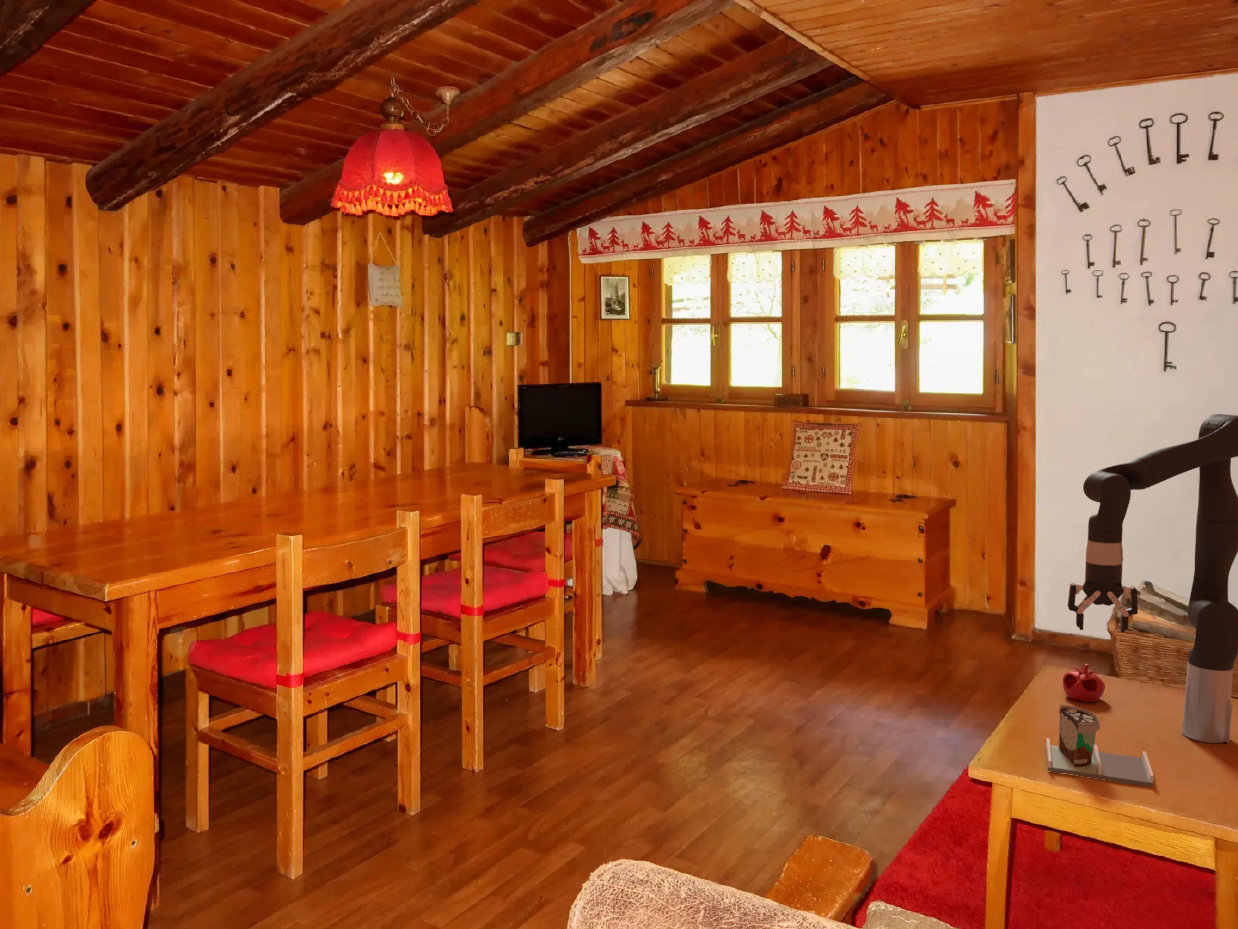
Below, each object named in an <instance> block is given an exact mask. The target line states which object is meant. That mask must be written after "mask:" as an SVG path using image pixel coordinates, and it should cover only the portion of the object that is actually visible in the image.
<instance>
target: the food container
mask: <svg viewBox="0 0 1238 929" xmlns="http://www.w3.org/2000/svg"><path fill="white" fill-rule="evenodd" d="M1058 714H1059V726H1058V728H1059V731H1058V732H1059V734H1058V746H1059V751H1060V752H1061V753H1062V754H1063V755H1064V756H1065V757H1066V759H1067V760H1068V761H1069V762H1070V763H1071V764H1072V765H1073V766H1074V767H1083V766H1087V765H1090V763H1091V760H1092V754H1093V749H1094V745H1095V740H1096V739H1095V738H1096V733H1097V732H1098V731H1099V730H1100V729H1101V726H1100V720H1099V718H1098V716H1097V715H1096V714H1095V713H1094V712H1092V711H1090V710H1088V709H1085V708H1082V707H1079V706H1073V705H1067V704H1060V705H1059V709H1058Z"/></svg>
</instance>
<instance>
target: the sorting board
mask: <svg viewBox="0 0 1238 929" xmlns="http://www.w3.org/2000/svg"><path fill="white" fill-rule="evenodd" d="M1045 743H1046V744H1045V755H1046V754H1047V756H1046V765H1047V766H1048V768H1047V772H1048V771H1051V772H1056V773H1055V774H1058V773H1067V774H1073V775H1078V776H1084V777H1083V778H1085V777H1090V778H1089V779H1091V778H1098V779H1105V780H1111V781H1110V782H1112V781H1116V782H1115V783H1118V782H1120V783H1119V784H1127V785H1133V786H1138V785H1140V787H1147V788H1154V779H1155V778H1154V776H1155V775H1154V773H1153V770H1152V766H1151V764H1150V760H1149V758H1148V755H1147V752H1146V751H1145V750H1143V751H1142V754H1141V756H1140V757H1139V756H1132V755H1125V754H1117V753H1110V752H1104V751H1103V752H1102V751H1099V748H1098V745H1097V744H1094V747H1093V754H1092V760H1091V763H1090V765H1087V766H1083V767H1074V766H1073V765H1072V764H1071V763H1070V762H1069V761H1068V760H1067V759H1066V757H1065V756H1064V755H1063V754H1062V753H1061V752H1060V751H1059V745H1053V744H1051V740H1050V737H1047V738H1046V742H1045ZM1051 772H1050V773H1051ZM1078 776H1077V777H1078ZM1098 779H1097V780H1098ZM1105 780H1104V781H1105Z"/></svg>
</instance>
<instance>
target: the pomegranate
mask: <svg viewBox="0 0 1238 929" xmlns="http://www.w3.org/2000/svg"><path fill="white" fill-rule="evenodd" d="M1089 667H1090V664H1089V663H1085V664H1084V666H1083V665H1081V666H1080V668H1081V669H1079V668H1078V667H1071V668H1070V670H1069V671H1067V672H1065V674H1064V675H1063V678H1062V686H1063V690H1064V693H1065V695H1066V696H1067V697H1068V698H1069V699H1071V700H1075V701H1080V702H1083V703H1097V702H1099V700H1100V698H1101V697H1102V696H1103V694H1104V693H1105V690H1106V684H1105V683H1104V682H1105V681H1103V680H1102V678H1100V677H1099V676H1098V675H1099V674H1100V673H1099V672H1097V670H1098V669H1095V668H1092V669H1089ZM1071 669H1074V670H1071ZM1097 674H1098V675H1097Z"/></svg>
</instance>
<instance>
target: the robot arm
mask: <svg viewBox="0 0 1238 929" xmlns="http://www.w3.org/2000/svg"><path fill="white" fill-rule="evenodd" d="M1197 438H1198V439H1194V440H1191V441H1187V442H1184V443H1179V444H1176V445H1171V446H1167V447H1163V448H1159V449H1155V450H1154V451H1150V452H1148V453H1146V454H1145V453H1144V454H1142V455H1141V456H1139V457H1136V458H1134V459H1132V460H1130V461H1128V462H1123V463H1118V464H1115V465H1111V466H1110V465H1109V466H1108V467H1103V468H1101V469H1100V468H1099V469H1097V470H1095V471H1093V472H1092V473H1091V474H1089V475H1088V476H1087V477H1086V478H1085V480H1084V482H1083V485H1082V486H1083V487H1082V489H1083V492H1084V495H1085V496H1086V497H1087V499H1089V500H1091V501H1092V502H1096V503H1099V507H1098V509H1097V510H1098V511H1097V513H1094V514H1092V515H1091V516H1090V517H1089V518H1088V526H1087V527H1088V528H1087V544H1086V549H1085V572H1084V574H1085V575H1084V577H1085V578H1084V583H1083V584H1077V583H1076V584H1075V583H1074V582H1071V583H1070V584H1069V588H1068V589H1069V590H1068V598H1067V599H1068V601H1067V607H1068V610H1069V611H1071V612H1074V613H1076V614H1075V624H1076V628H1079V629H1078V630H1079V631H1083V630H1084V619H1085V618H1084V617H1085V616H1084V612H1085V611H1086V609H1088V608H1089V607H1090V606H1091V605H1092V604H1094V605H1096V606H1102V605H1104V606H1108V607H1110V606H1112V605H1114V606H1116V608H1117V609H1118V611H1119V612H1120V613H1121V614H1120V622H1119V623H1120V624H1119V631H1120V633H1122V634H1124V633H1126V631H1127V630H1128V629H1129V617H1130V616H1133V615H1138V613H1139V612H1138V611H1139V609H1138V608H1139V606H1138V605H1139V604H1138V590H1137V587H1136V586H1134V585H1132V586H1130V587H1124V586H1123V583H1122V582H1123V562H1124V551H1123V550H1124V549H1123V523H1124V521H1125V519H1126V515H1127V511H1128V509H1129V505H1130V502H1131V495H1132V491H1134V490H1135V491H1136V490H1137V491H1140V490H1141V491H1142V490H1146V489H1148V488H1151V487H1153V486H1155V485H1158V484H1161V483H1162V482H1164V481H1167V480H1170V479H1172V478H1174V477H1177V476H1179V475H1182V474H1184V473H1186V472H1189V471H1190V472H1191V471H1192V470H1194V469H1198V468H1199V469H1198V470H1199V481H1198V499H1197V500H1198V502H1197V512H1196V513H1197V514H1196V520H1195V521H1196V524H1195V542H1194V543H1195V545H1194V572H1193V580H1192V586H1191V590H1190V596H1189V601H1188V606H1187V616H1188V620H1189V622H1190V624H1191V625H1192V626H1193V627H1194V628H1195V636H1194V645H1193V647H1192V648H1190V649H1189V651H1188V653H1187V654H1188V655H1187V669H1186V680H1185V691H1184V704H1183V716H1182V717H1183V718H1182V723H1181V724H1182V725H1181V727H1182V728H1181V733H1182V734H1183V736H1185V737H1186V738H1189V739H1192V740H1195V741H1198V742H1202V743H1209V744H1224V743H1223V742H1227V743H1226V744H1229V743H1230V737H1231V735H1230V734H1231V728H1232V726H1231V725H1232V715H1233V702H1232V700H1231V698H1232V686H1233V677H1234V676H1233V675H1234V665H1235V661H1236V659H1237V657H1238V608H1237V607H1236V606H1235V605H1234V604H1233V603H1231V602H1230V601H1229V576H1230V572H1231V569H1232V567H1233V564H1234V563H1235V562H1234V561H1235V559H1236V557H1237V554H1238V494H1237V491H1236V488H1235V485H1234V483H1233V479H1232V473H1231V472H1232V469H1231V464H1232V463H1231V462H1232V458H1238V415H1236V414H1235V415H1234V414H1224V413H1221V414H1220V413H1216V414H1211V415H1208V416H1207V417H1206V418H1205V419H1204V420H1203V421H1202V423H1201V425H1200V427H1199V431H1198V437H1197ZM1081 591H1083V593H1084V594H1085V595H1086V596H1085V597H1084V598H1083V599H1082V601H1081V602H1080V603H1079V604H1078V605H1076V595H1078V594H1080V592H1081ZM1124 593H1125V594H1126V596H1127V597H1128V598H1130V599H1129V602H1130V603H1129V605H1130V607H1129V608H1126V607H1125V606H1124V605H1123V603H1122V602H1121V600H1120V598H1121V596H1122V595H1124Z"/></svg>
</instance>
